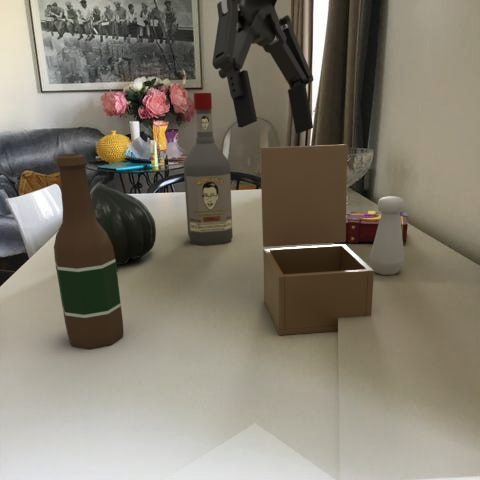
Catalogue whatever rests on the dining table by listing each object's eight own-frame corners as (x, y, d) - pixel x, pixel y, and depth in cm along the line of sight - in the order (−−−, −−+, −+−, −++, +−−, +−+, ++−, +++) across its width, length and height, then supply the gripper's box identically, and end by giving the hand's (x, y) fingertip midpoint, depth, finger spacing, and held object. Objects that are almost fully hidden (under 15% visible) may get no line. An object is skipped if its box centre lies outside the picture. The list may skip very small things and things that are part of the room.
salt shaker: (387, 278, 96) (393, 202, 91) (362, 271, 100) (366, 197, 95) (410, 271, 99) (416, 197, 94) (384, 264, 104) (389, 193, 99)
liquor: (187, 236, 128) (178, 93, 116) (227, 233, 129) (221, 92, 118) (191, 246, 120) (181, 93, 108) (234, 243, 121) (228, 92, 110)
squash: (179, 231, 109) (140, 168, 111) (114, 251, 99) (72, 182, 101) (151, 268, 119) (115, 210, 121) (90, 289, 110) (52, 226, 112)
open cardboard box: (370, 328, 77) (374, 270, 74) (279, 335, 76) (278, 276, 73) (342, 295, 89) (345, 244, 86) (264, 300, 88) (263, 248, 85)
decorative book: (406, 245, 115) (408, 221, 113) (327, 243, 119) (327, 219, 117) (405, 232, 125) (407, 209, 123) (332, 230, 129) (332, 208, 127)
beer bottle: (119, 348, 73) (95, 157, 64) (59, 350, 73) (26, 160, 64) (129, 325, 80) (109, 150, 71) (75, 327, 81) (47, 152, 71)
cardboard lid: (347, 144, 81) (346, 144, 82) (260, 147, 80) (260, 147, 81) (345, 242, 86) (344, 241, 86) (263, 246, 85) (262, 246, 85)
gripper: (279, 7, 90) (305, 140, 92) (164, -38, 72) (198, 130, 73) (319, -17, 85) (345, 125, 87) (205, -71, 67) (241, 110, 68)
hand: (278, 127), depth 80 cm, fingers open, 13 cm apart
